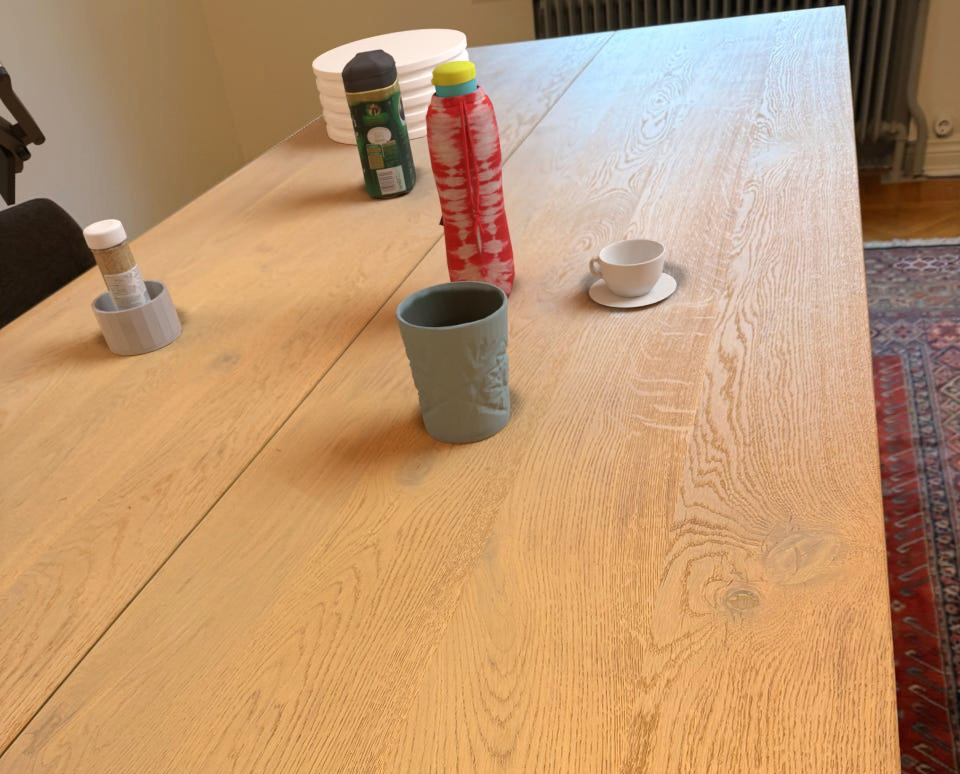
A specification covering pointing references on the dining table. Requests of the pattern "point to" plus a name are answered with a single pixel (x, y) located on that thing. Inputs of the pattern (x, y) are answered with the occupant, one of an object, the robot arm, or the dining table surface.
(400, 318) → the grey embossed cup
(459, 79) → the water bottle
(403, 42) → the plate stack
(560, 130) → the dining table surface
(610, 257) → the teacup
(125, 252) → the sprinkles bottle
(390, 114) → the coffee jar
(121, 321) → the grey faceted cup
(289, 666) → the dining table surface
